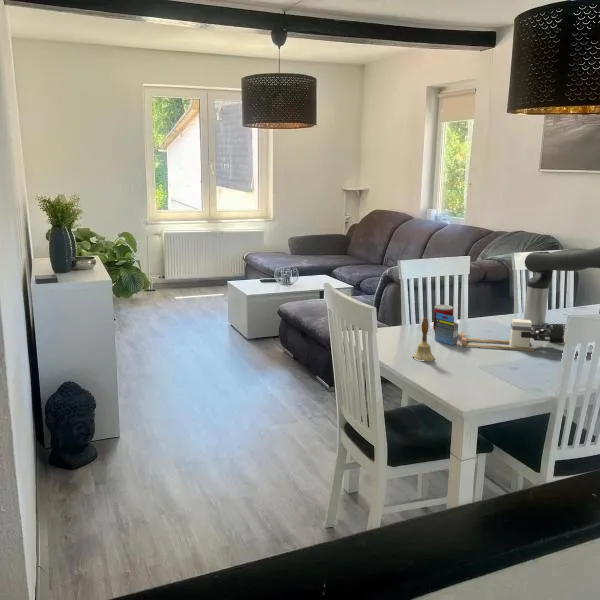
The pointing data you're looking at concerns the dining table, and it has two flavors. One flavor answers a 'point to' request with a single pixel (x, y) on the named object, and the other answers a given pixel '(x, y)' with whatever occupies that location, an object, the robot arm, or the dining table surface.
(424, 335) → the hand bell
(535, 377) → the dining table surface
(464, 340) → the wooden rail channel
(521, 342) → the block
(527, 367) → the dining table surface
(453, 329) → the label tape cartridge
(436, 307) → the canned food
